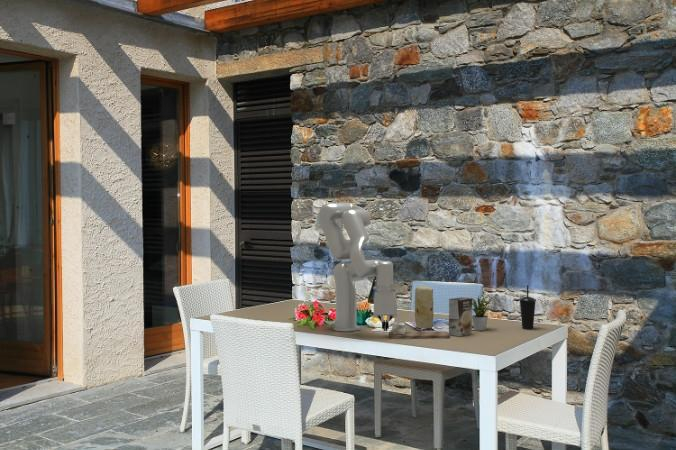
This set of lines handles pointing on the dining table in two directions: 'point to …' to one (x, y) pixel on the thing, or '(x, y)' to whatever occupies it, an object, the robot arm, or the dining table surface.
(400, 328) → the bead
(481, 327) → the house plant
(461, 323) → the coffee box
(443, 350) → the dining table surface
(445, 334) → the board
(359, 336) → the dining table surface
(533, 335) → the dining table surface
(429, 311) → the food model
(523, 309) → the drinking cup
